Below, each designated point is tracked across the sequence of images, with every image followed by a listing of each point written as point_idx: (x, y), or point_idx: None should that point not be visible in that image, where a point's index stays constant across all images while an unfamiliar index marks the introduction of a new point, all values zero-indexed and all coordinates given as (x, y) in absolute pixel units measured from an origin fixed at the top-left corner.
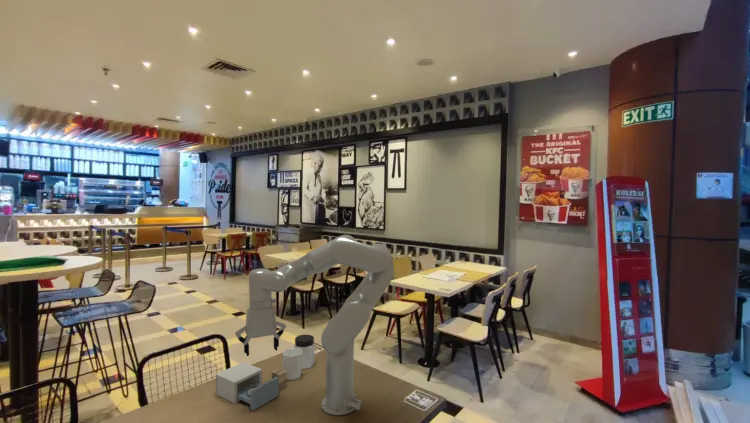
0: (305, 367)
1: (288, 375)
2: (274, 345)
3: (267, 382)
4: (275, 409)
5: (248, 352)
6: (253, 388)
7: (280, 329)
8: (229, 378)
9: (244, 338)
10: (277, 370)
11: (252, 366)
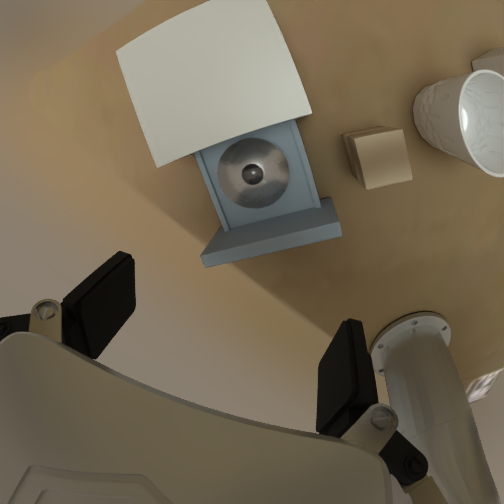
0: None
1: (424, 131)
2: (330, 367)
3: (281, 244)
4: (287, 267)
5: (120, 324)
6: (243, 179)
7: (395, 491)
8: (147, 116)
9: (32, 330)
10: (384, 142)
11: (280, 51)
